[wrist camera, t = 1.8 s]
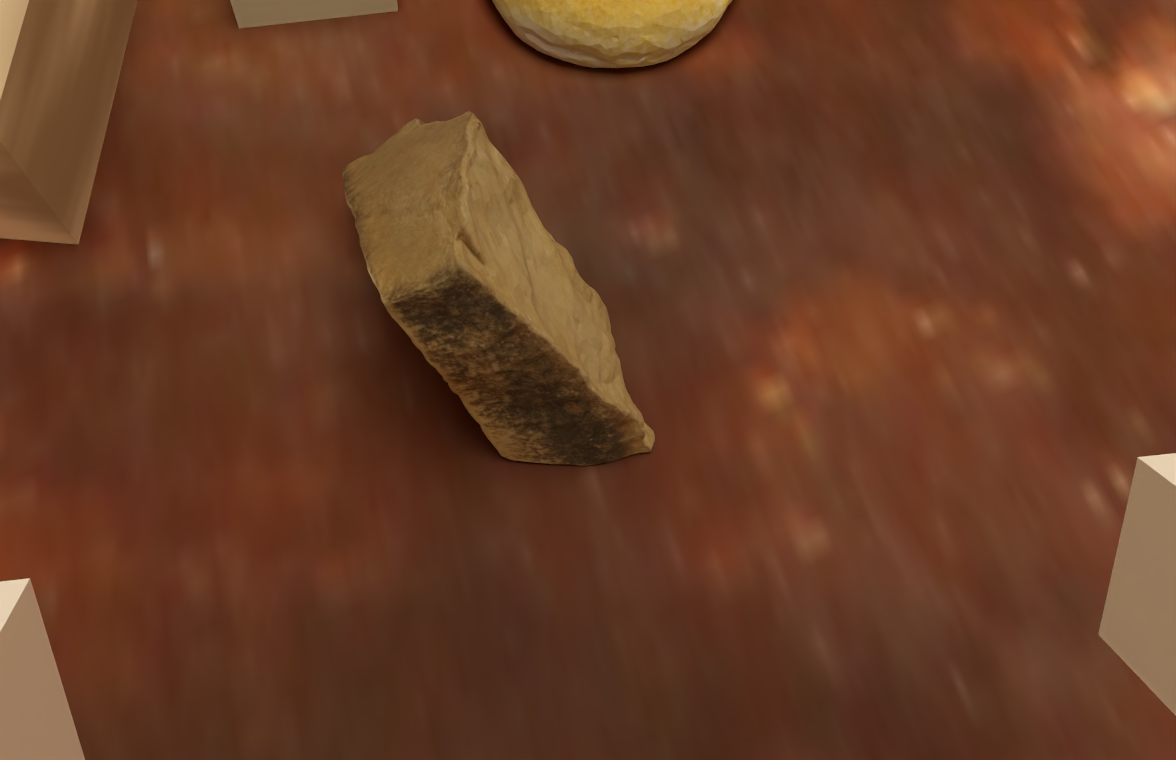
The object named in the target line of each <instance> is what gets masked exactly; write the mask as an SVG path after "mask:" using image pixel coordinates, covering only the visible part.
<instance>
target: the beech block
mask: <svg viewBox="0 0 1176 760" xmlns="http://www.w3.org/2000/svg"><path fill="white" fill-rule="evenodd" d="M137 1H138V0H0V238H6V239H18V240H30V241H42V242H55V243H67V244H79V240H80V236H81V232H82V228H83V224H84V220H85V216H86V212H87V207H88V203H89V199H90V195H91V191H92V187H93V183H94V178H95V174H96V170H97V166H98V162H99V158H100V154H101V150H102V145H103V141H104V137H105V133H106V129H107V125H108V121H109V116H110V112H111V108H112V104H113V100H114V96H115V92H116V88H117V83H118V79H119V75H120V71H121V67H122V63H123V59H124V54H125V50H126V46H127V42H128V38H129V34H130V30H131V25H132V21H133V17H134V13H135V9H136V5H137Z"/></svg>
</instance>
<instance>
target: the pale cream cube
mask: <svg viewBox="0 0 1176 760" xmlns="http://www.w3.org/2000/svg"><path fill="white" fill-rule="evenodd" d="M230 2H231V5H232V8H233V11H234V14H235V17H236V21H237V24H238V27H239V28H248V27H257V26H266V25H275V24H284V23H293V22H302V21H311V20H321V19H330V18H339V17H348V16H357V15H366V14H375V13H384V12H393V11H398V4H397V0H230Z"/></svg>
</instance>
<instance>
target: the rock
mask: <svg viewBox="0 0 1176 760" xmlns="http://www.w3.org/2000/svg"><path fill="white" fill-rule="evenodd" d="M342 175H343V178H344V181H345V184H344V190H345V196H346V200H347V205H348V207H349V209H350V210H351V212H352V214H353V216H354V218H355V227H356V229H357V231H358V233H359V236H360V246H361V249H362V252H363V253H364V257H365V260H366V263H367V270H368V272H369V274H370V276H371V278H372V280H373V282H374V284H375V286H376V288H377V289H378V291H379V293H380V296H381V300H382V302H383V304H384V306H385V307H386V309H387V311H388V313H389V314H390V315H391V317H392V318H393V319H394V320H395V321H396V322H397V323H398V324H399V325H400V326H401V328H402V329H403V330H404V331H405V332H406V334H407V335H408V336H409V337H410V338H411V340H412V342H413V344H414V345H415V346H416V347H417V348H418V349H419V350H420V351H421V352H422V353H423V355H424V357H425V359H426V361H428V362H429V363H430V364H431V365H432V366H433V367H434V368H436V370H437V371H438V372H439V374H440V375H442V377H443V380H445V381H446V382H447V383H448V385H449V387H450V389H451V390H452V391H453V392H454V393H456V394H457V395H459V397H460V399H461V400H462V402H463V404H464V406H465V407H466V409H467V410H468V412H469V413H470V414H471V416H472V417H473V418H474V419H475V420H476V421H477V422H478V423H479V424H480V425H481V428H482V431H483V432H484V434H485V435H486V437H487V438H488V440H489V441H490V442H491V443H492V444H493V445H494V447H495V448H496V449H497V450H498V452H499V453H500V455H501V456H502V457H505V458H507V459H510V460H515V461H525V462H534V463H546V464H572V465H581V466H584V465H595V464H600V463H606V462H611V461H615V460H618V459H621V458H624V457H626V456H629V455H632V454H637V453H643V452H650V451H651V450H652V446H653V444H654V441H655V435H654V432H653V430H652V429H651V428H650V427H648V426H647V425H646V424H645V423H644V420H643V417H642V414H641V412H640V411H639V410H638V409H637V407H636V406H635V405H634V404H633V402H632V400H631V398H630V396H629V394H628V392H627V390H626V387H625V383H624V379H623V375H622V371H621V366H620V360H619V357H618V356H617V354H616V352H615V342H614V339H613V336H612V334H611V326H610V321H609V316H608V312H607V309H606V307H605V305H604V304H603V302H602V300H601V298H600V296H599V295H598V294H597V292H596V291H595V290H594V289H593V288H591V287H590V286H589V285H587V284H586V283H585V282H584V281H583V280H582V278H581V277H580V276H579V274H578V272H577V270H576V268H575V266H574V262H573V258H572V257H571V255H570V254H569V252H568V251H567V250H566V249H565V248H564V247H562V246H561V245H560V244H558V243H557V242H555V240H554V239H553V237H552V236H551V234H550V233H549V232H548V231H546V230H545V229H544V227H543V225H542V223H541V221H540V220H539V218H538V216H537V214H536V212H535V211H534V209H533V207H532V205H531V203H530V200H529V198H528V195H527V193H526V190H525V188H524V186H523V184H522V182H521V180H520V178H519V177H518V176H517V174H516V173H515V172H514V170H513V169H512V168H511V166H510V165H509V164H508V162H507V161H506V160H505V159H504V157H503V156H502V155H501V154H500V153H499V151H498V150H497V149H496V148H495V147H494V146H493V145H492V144H491V143H490V141H489V139H488V137H487V135H486V133H485V130H484V127H483V125H482V123H481V122H480V121H479V120H478V119H477V117H476V116H475V115H474V114H473V113H472V112H469V111H467V112H466V113H465V114H463V115H460V116H458V117H456V118H453V119H451V120H447V121H440V122H439V121H433V122H431V123H426V124H424V123H423V122H422V121H421V120H419V119H417V118H415V119H414V120H412V121H410V122H408V123H406V124H405V125H404V126H403V127H402V128H401V129H400V130H399V131H398V132H397V133H396V134H395V135H393V136H392V137H390V138H389V139H388V140H386V141H385V142H384V143H383V144H382V145H381V146H380V147H379V148H377V149H376V150H375V151H374V152H373V153H372V154H370V155H365V156H362V157H360V158H358V159H356V160H355V161H353V162H351V163H349V164H348V165H347V166H345V167H344V169H343V174H342Z"/></svg>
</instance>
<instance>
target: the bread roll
mask: <svg viewBox="0 0 1176 760" xmlns="http://www.w3.org/2000/svg"><path fill="white" fill-rule="evenodd" d="M492 1H493V3H494V5H495V6H496V8H497V10H498V11H499V13H500V14H501V16H502V17H503V19H504V20H505V22H506V23H507V24H508V25H509V27H510V28H511V29H512V31H513V32H514V33H515V35H516V36H517V37H518V38H520V39H521V40H522V41H523V42H525V43H527V44H528V45H530V46H531V47H533V48H534V49H536V50H537V51H540V52H542V53H544V54H546V55H549V56H552V57H554V58H557V59H560V60H563V61H566V62H570V63H573V64H576V65H580V66H586V67H592V68H625V67H642V66H649V65H654V64H657V63H661V62H664V61H667V60H670V59H672V58H674V57H676V56H678V55H679V54H681V53H682V52H684V51H686V50H687V49H689V48H690V47H692V46H693V45H695V44H696V43H697V42H698V41H700V40H701V39H702V38H703V37H704V36H706V35H707V34H708V33H710V32H711V30H712V29H714V27H715V26H716V24H717V23H718V21H719V20H720V19H721V17H722V15H723V13H724V12H725V10H726V8H727V6H728V5H729V4H730V3H731V2H732V0H492Z"/></svg>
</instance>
